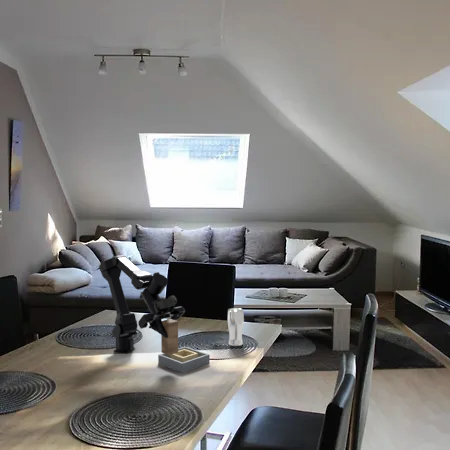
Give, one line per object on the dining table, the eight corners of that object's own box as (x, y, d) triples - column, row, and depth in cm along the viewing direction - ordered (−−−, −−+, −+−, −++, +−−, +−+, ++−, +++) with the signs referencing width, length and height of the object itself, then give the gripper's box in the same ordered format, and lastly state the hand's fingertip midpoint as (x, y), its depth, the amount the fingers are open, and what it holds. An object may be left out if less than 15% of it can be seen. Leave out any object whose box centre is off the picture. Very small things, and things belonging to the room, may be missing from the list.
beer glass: (242, 347, 231) (242, 312, 230) (226, 345, 232) (226, 311, 231) (244, 342, 238) (245, 308, 236) (229, 341, 239) (229, 307, 238)
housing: (158, 363, 211) (158, 353, 211) (185, 354, 221) (185, 345, 221) (182, 372, 201) (182, 362, 201) (209, 363, 211) (209, 353, 211)
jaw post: (161, 352, 204) (161, 321, 202) (170, 349, 207) (170, 318, 206) (168, 355, 201) (168, 323, 199) (178, 352, 204) (178, 321, 202)
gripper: (142, 293, 198) (161, 329, 191) (181, 285, 211) (201, 319, 204) (130, 310, 204) (148, 346, 197) (169, 302, 217) (187, 335, 210)
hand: (172, 336), depth 202 cm, fingers closed on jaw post, 4 cm apart
